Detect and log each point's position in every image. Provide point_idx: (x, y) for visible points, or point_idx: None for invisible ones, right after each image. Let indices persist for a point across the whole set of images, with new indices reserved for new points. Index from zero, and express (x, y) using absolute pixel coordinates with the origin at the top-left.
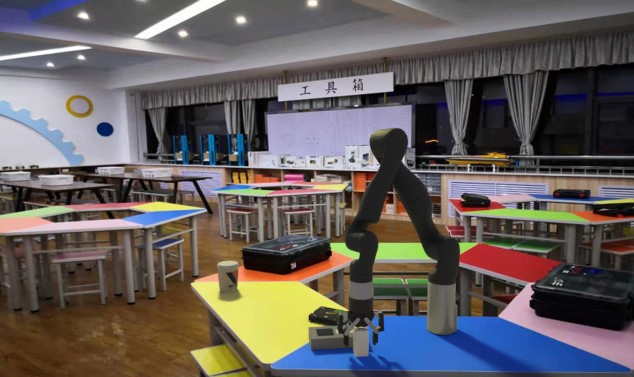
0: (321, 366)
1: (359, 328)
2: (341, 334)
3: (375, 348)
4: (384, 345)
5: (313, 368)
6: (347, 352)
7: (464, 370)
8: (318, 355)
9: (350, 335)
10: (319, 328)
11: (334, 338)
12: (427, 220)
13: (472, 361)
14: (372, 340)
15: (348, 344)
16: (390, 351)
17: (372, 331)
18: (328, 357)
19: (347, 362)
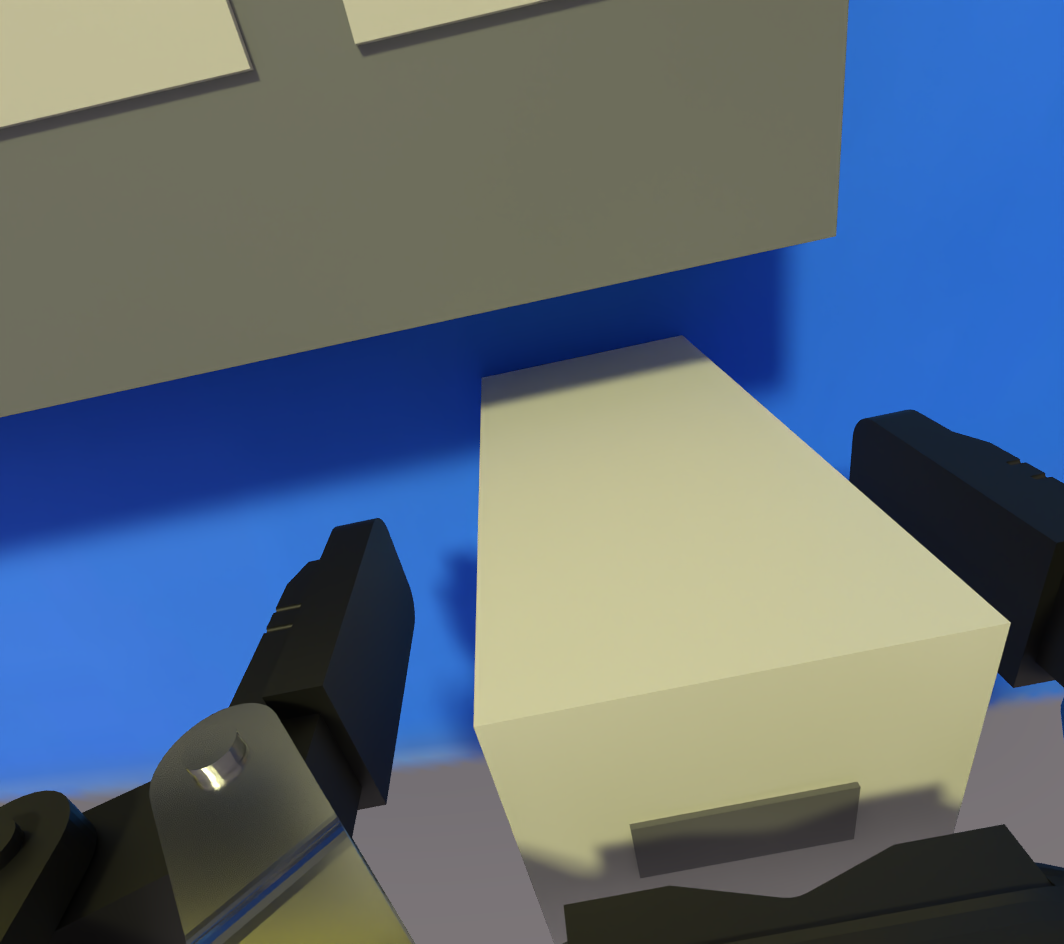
0: (162, 752)
1: (697, 850)
2: (125, 184)
3: (852, 269)
4: (1052, 129)
5: (94, 787)
6: (400, 442)
7: None
8: (4, 562)
9: (395, 236)
10: None
11: (32, 406)
12: None
13: None
14: (883, 437)
15: (405, 645)
16: (1044, 350)
17: (1050, 542)
18: (167, 591)
19: (430, 660)
